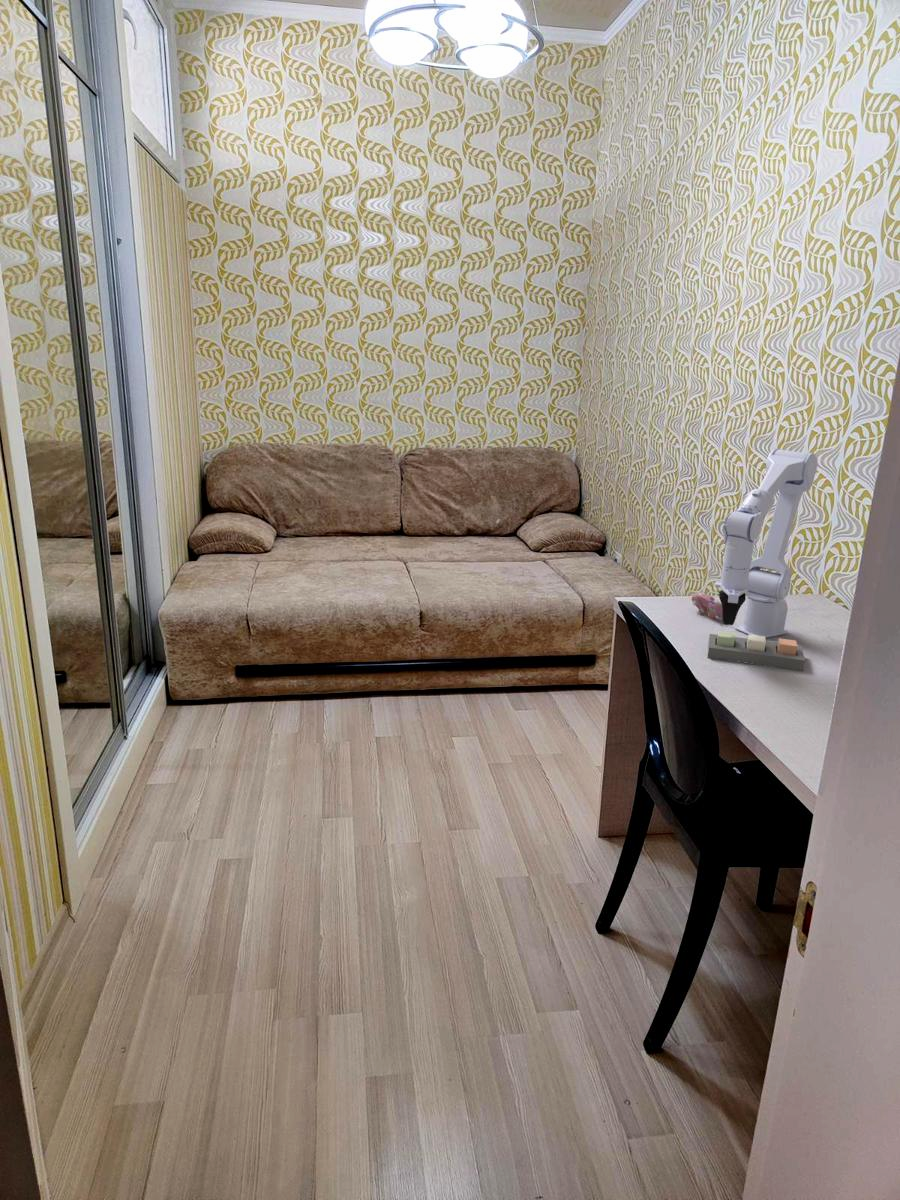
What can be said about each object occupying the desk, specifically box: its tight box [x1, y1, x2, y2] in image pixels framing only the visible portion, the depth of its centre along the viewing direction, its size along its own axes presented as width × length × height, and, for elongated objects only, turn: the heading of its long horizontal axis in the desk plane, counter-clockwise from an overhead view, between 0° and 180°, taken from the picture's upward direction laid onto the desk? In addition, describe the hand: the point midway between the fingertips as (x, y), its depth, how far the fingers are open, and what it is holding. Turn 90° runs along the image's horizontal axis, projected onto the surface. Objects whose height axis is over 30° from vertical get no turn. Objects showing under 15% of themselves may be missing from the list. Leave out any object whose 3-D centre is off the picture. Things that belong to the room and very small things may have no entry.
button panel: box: [707, 633, 806, 672], centre depth 180 cm, size 20×9×2 cm, turn 72°
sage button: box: [717, 630, 736, 647], centre depth 181 cm, size 4×4×3 cm
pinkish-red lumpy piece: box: [691, 592, 723, 620], centre depth 205 cm, size 10×5×7 cm, turn 24°
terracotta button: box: [777, 638, 798, 655], centre depth 178 cm, size 4×4×3 cm
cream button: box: [746, 634, 767, 651], centre depth 180 cm, size 4×4×3 cm
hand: (728, 623), depth 180 cm, fingers closed
